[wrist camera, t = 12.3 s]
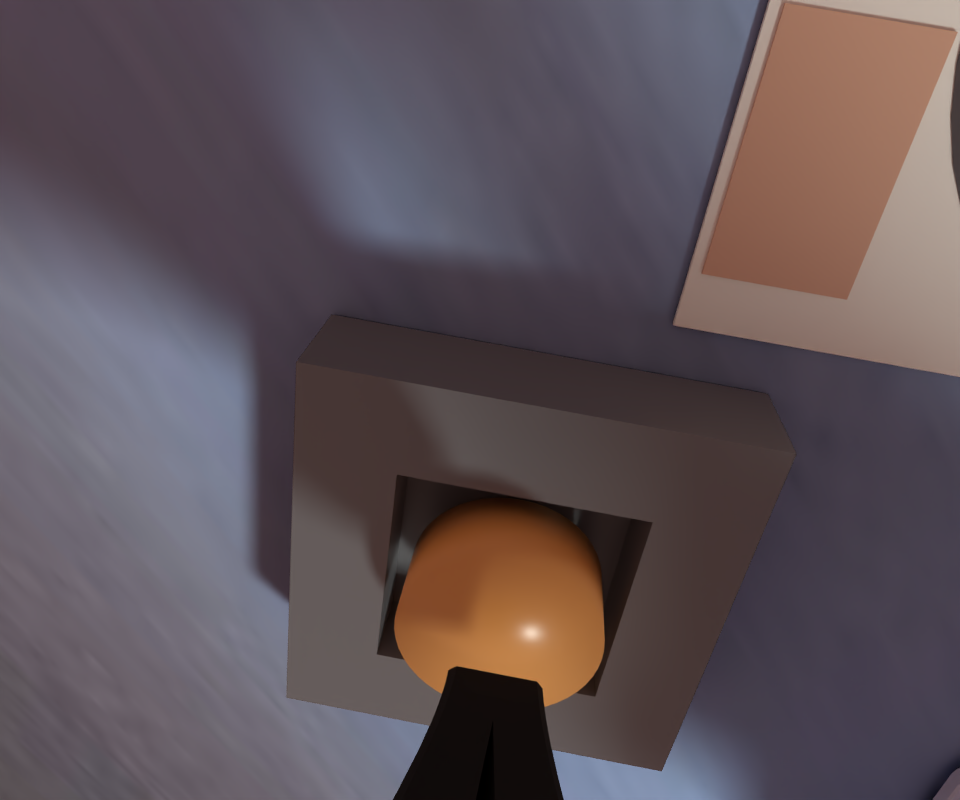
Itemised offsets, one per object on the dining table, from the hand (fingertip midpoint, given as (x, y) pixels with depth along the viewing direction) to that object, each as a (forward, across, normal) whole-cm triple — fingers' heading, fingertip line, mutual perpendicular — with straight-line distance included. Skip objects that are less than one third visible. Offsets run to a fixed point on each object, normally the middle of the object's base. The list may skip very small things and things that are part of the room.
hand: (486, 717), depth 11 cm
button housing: (+5, 0, 0) cm, 5 cm away
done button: (+3, 0, 0) cm, 3 cm away
